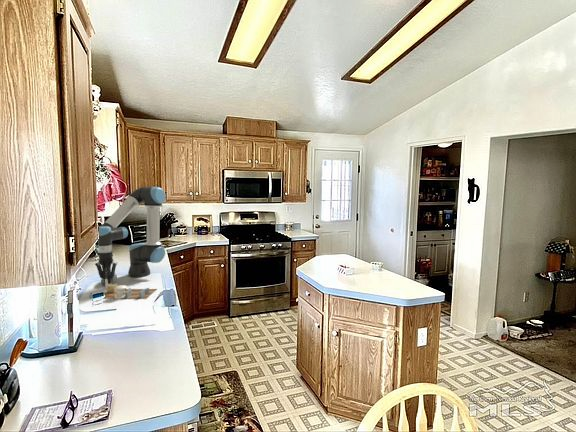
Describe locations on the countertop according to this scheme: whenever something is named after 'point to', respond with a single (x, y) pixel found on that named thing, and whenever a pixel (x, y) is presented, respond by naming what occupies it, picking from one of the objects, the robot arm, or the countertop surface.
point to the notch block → (141, 293)
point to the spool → (111, 280)
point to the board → (133, 294)
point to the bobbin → (120, 292)
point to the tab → (111, 288)
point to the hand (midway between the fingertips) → (107, 288)
